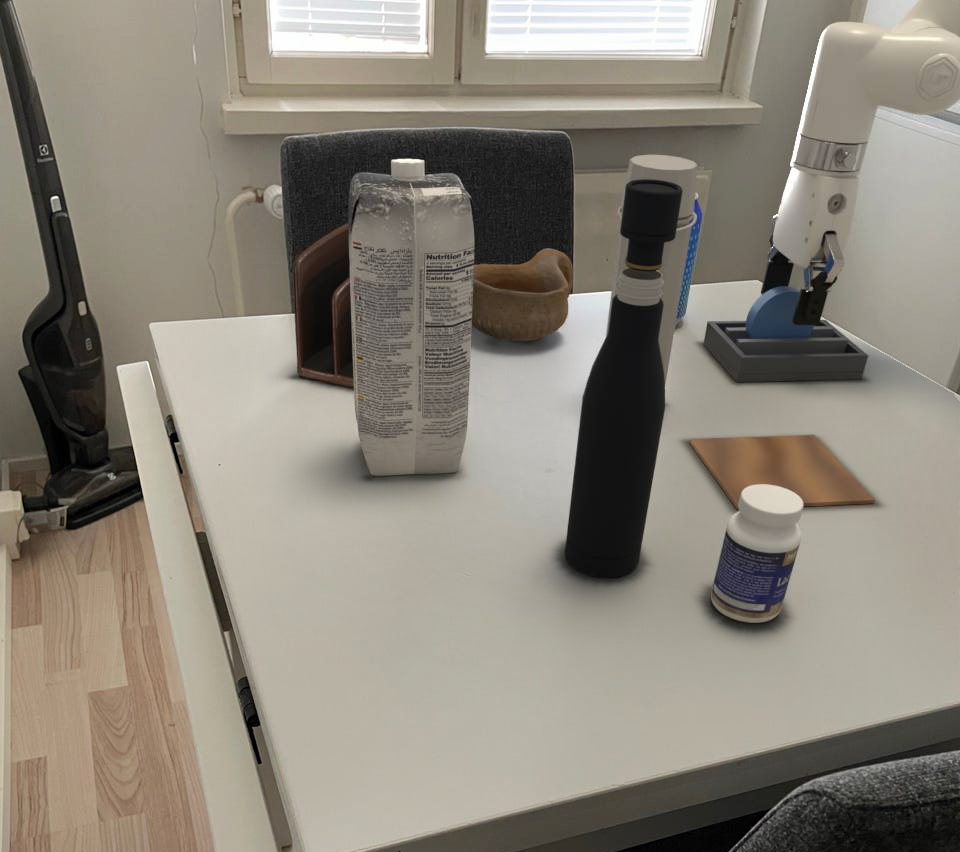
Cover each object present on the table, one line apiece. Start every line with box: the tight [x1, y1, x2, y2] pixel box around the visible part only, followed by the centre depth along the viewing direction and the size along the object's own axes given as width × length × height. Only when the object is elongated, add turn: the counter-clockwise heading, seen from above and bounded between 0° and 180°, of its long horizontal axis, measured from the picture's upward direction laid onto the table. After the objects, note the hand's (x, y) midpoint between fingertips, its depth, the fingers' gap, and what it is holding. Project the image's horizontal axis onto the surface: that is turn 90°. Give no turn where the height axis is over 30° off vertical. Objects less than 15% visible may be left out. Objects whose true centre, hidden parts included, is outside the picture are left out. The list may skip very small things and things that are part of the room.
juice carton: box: [347, 158, 475, 477], centre depth 90 cm, size 9×10×27 cm
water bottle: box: [605, 154, 698, 385], centre depth 103 cm, size 9×8×25 cm
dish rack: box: [703, 319, 869, 383], centre depth 122 cm, size 16×12×4 cm
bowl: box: [472, 247, 574, 343], centre depth 125 cm, size 18×14×10 cm
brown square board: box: [688, 434, 876, 510], centre depth 99 cm, size 14×14×1 cm
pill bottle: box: [710, 484, 804, 624], centre depth 78 cm, size 6×6×10 cm
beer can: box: [675, 191, 703, 327], centre depth 128 cm, size 8×8×16 cm
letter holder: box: [292, 222, 354, 389], centre depth 115 cm, size 10×20×14 cm, turn 159°
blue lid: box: [745, 285, 814, 339], centre depth 120 cm, size 8×2×8 cm, turn 99°
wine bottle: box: [564, 179, 683, 579], centre depth 76 cm, size 6×6×30 cm
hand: (788, 309), depth 119 cm, fingers open, 9 cm apart
